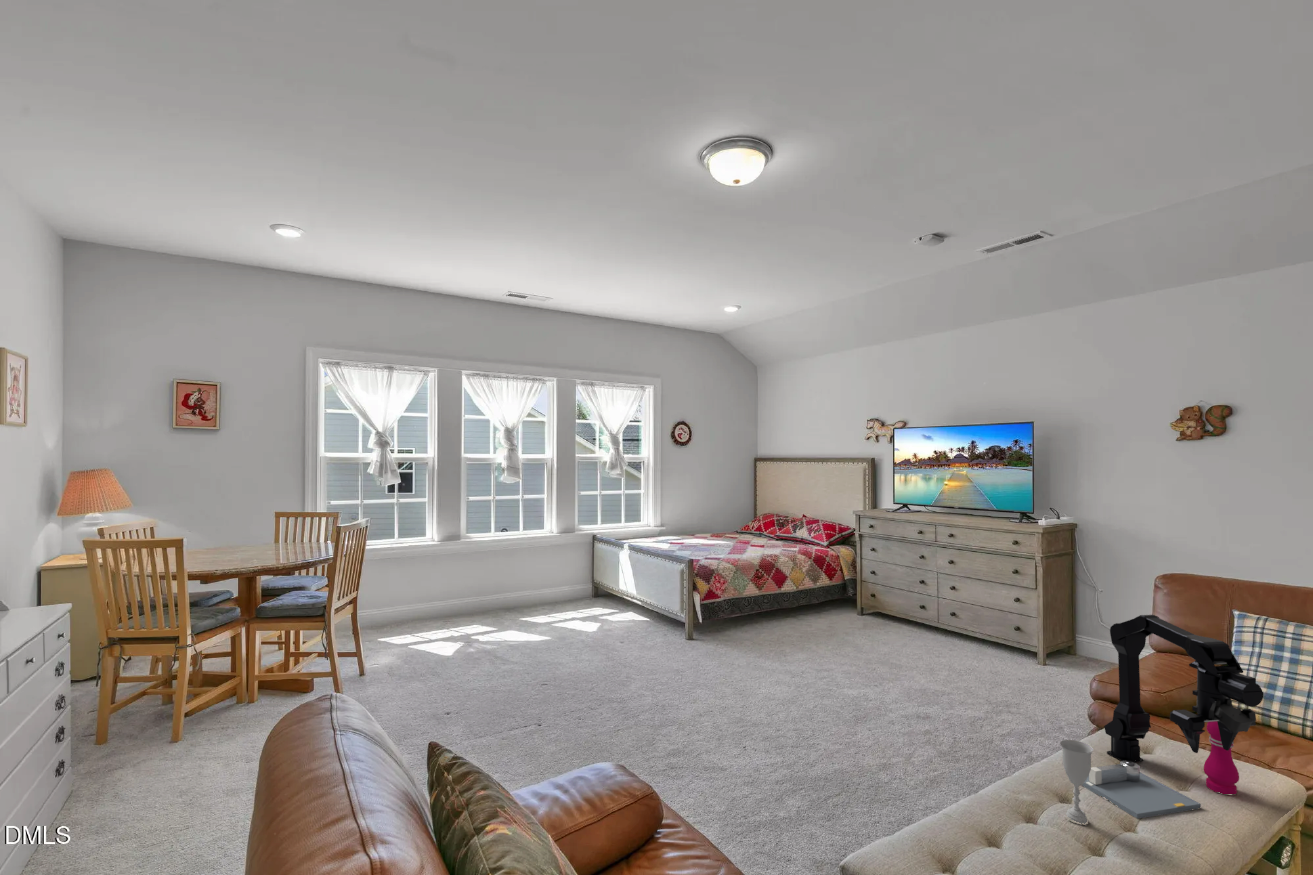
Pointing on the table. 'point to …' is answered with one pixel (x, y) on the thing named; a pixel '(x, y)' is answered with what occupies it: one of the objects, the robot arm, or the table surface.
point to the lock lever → (1115, 773)
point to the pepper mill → (1220, 764)
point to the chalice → (1076, 772)
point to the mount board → (1143, 797)
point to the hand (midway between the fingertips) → (1210, 751)
